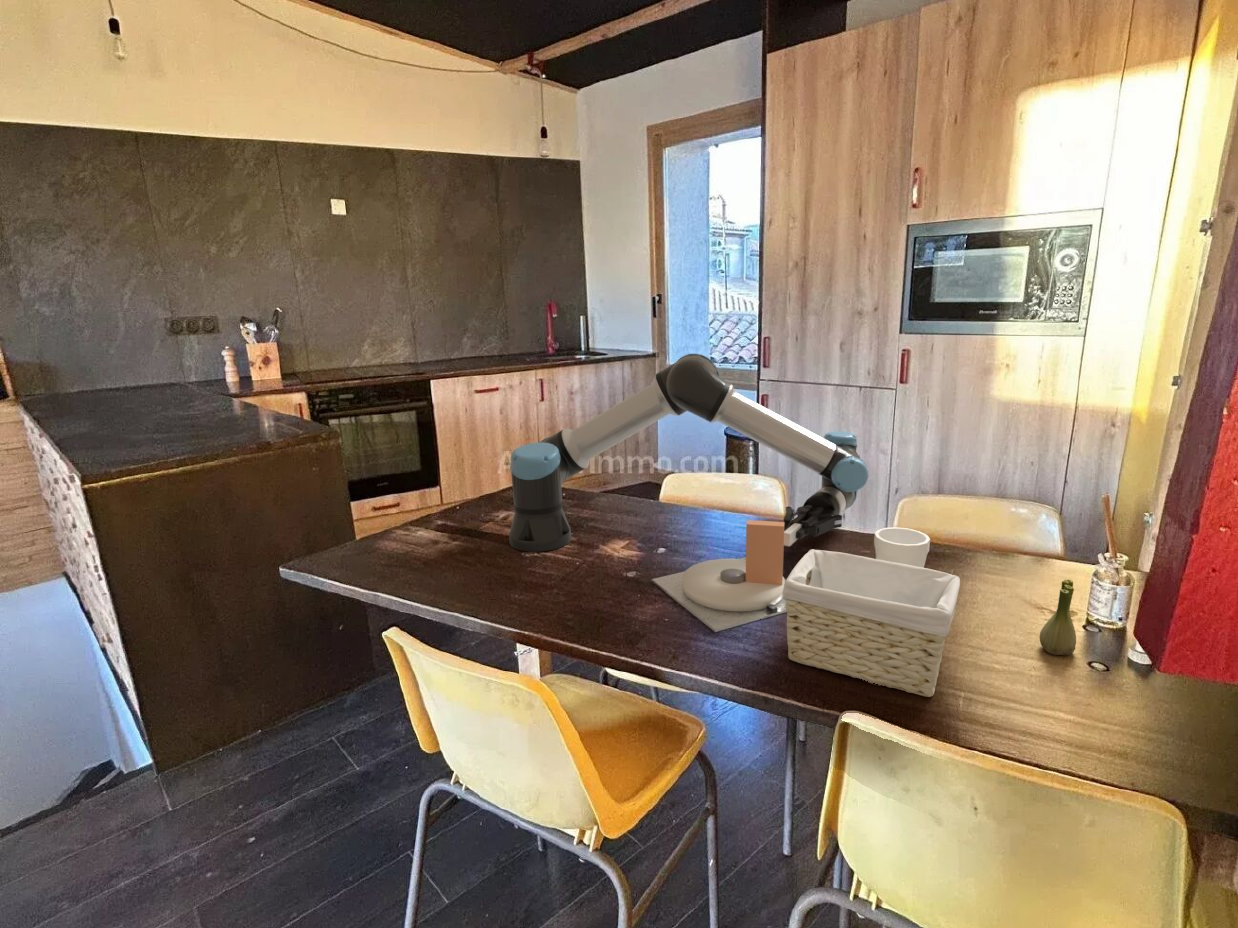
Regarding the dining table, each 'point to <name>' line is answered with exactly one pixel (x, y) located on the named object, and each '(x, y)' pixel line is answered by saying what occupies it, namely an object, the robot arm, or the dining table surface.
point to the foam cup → (901, 546)
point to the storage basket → (870, 618)
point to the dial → (742, 573)
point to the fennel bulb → (1060, 625)
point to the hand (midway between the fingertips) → (786, 539)
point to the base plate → (714, 616)
